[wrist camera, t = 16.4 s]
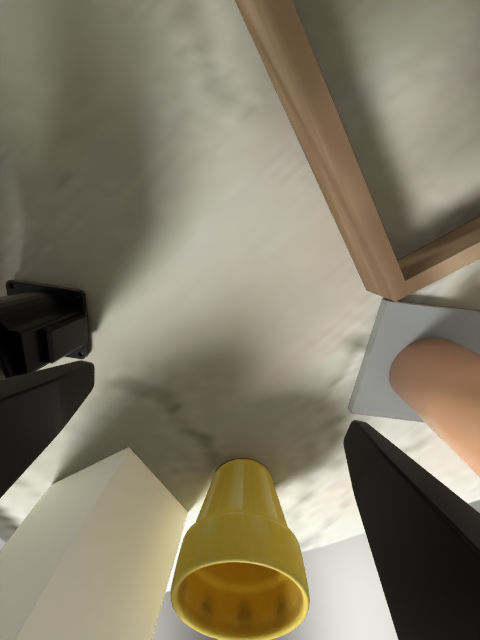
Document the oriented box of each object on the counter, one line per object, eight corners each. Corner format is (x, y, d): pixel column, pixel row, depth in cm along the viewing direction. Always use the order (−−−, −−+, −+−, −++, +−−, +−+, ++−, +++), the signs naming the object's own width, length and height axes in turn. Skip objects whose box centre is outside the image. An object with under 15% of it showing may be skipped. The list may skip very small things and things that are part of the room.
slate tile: (348, 407, 23) (351, 413, 22) (382, 299, 20) (387, 301, 19) (458, 421, 23) (465, 427, 22) (512, 315, 20) (522, 318, 19)
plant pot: (230, 427, 24) (219, 541, 15) (307, 473, 26) (341, 602, 16) (180, 485, 27) (144, 611, 18) (252, 523, 29) (254, 657, 19)
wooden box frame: (366, 290, 19) (428, 314, 13) (207, -62, 14) (166, -361, 7) (584, 174, 16) (816, 126, 10) (501, -344, 10) (941, -1371, 4)
